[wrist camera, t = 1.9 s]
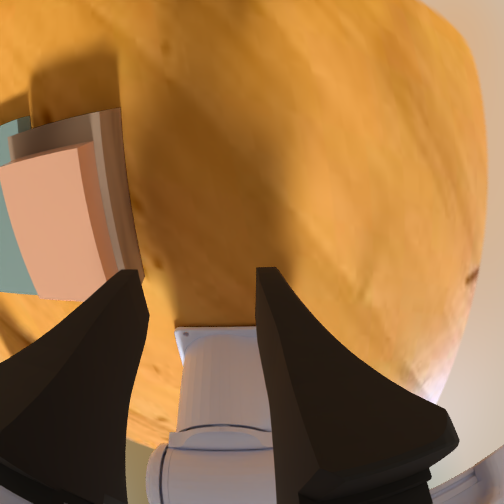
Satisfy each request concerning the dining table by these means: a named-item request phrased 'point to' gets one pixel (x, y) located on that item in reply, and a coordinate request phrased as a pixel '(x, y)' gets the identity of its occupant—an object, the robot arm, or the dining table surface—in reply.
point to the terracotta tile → (60, 221)
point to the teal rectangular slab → (3, 238)
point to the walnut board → (108, 167)
